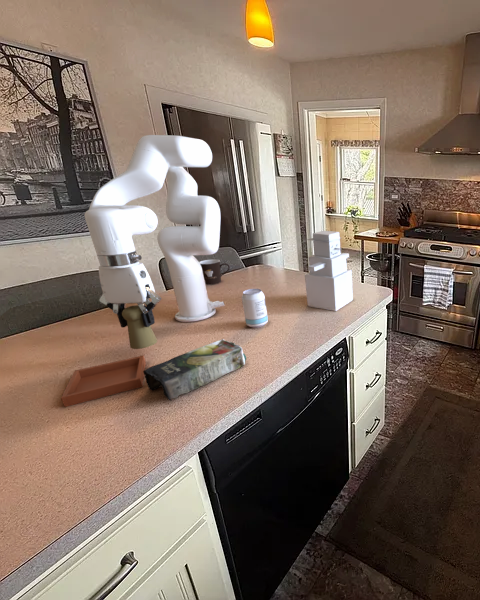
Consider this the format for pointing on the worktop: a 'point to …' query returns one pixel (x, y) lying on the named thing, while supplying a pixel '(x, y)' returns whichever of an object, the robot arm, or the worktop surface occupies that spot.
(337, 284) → the blocky snowman figure
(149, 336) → the cork
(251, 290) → the beverage can
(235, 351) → the juice carton
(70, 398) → the tray
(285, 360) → the worktop surface
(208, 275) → the coffee mug
